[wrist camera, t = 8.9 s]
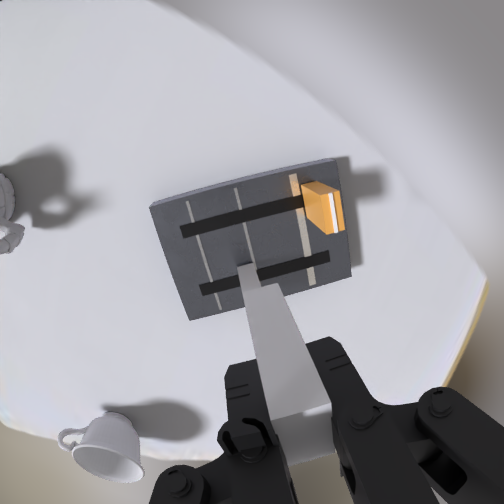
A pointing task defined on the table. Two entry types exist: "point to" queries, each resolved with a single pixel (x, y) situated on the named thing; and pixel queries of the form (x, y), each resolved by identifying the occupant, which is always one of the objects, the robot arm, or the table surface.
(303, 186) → the fader orange
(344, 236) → the console
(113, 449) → the teacup
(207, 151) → the table surface
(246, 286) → the fader white
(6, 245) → the mug
